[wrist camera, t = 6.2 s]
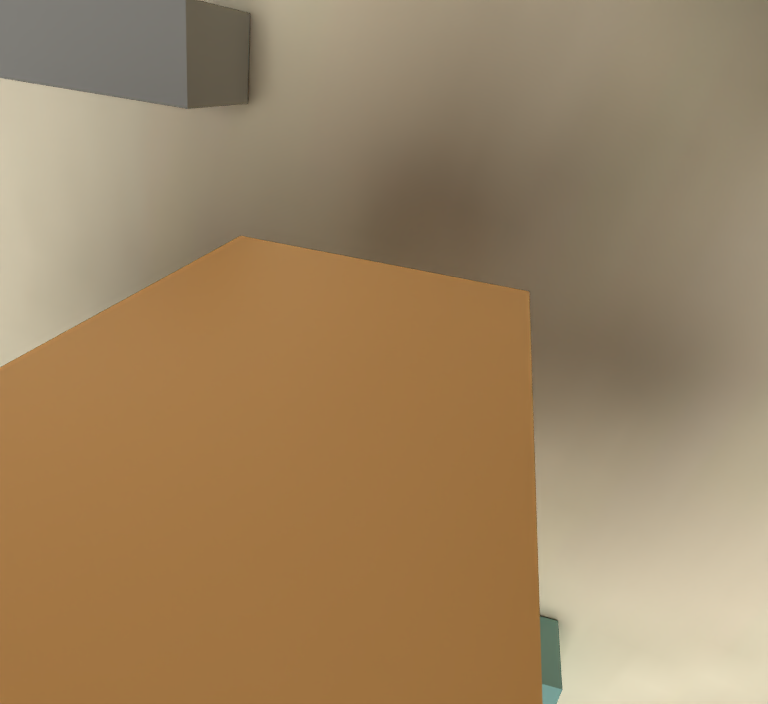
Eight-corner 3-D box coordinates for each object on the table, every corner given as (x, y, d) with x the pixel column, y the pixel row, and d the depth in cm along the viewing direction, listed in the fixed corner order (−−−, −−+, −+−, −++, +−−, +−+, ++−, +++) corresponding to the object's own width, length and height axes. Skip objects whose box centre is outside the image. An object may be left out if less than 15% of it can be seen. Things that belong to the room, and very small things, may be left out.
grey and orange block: (528, 291, 10) (562, 1377, 2) (436, 658, 14) (310, 1493, 6) (240, 235, 10) (-783, 794, 2) (231, 600, 14) (-144, 1273, 6)
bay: (250, 12, 14) (185, -3, 11) (236, 524, 21) (195, 589, 18) (-223, -53, 16) (-374, -80, 13) (-89, 438, 23) (-170, 485, 20)
